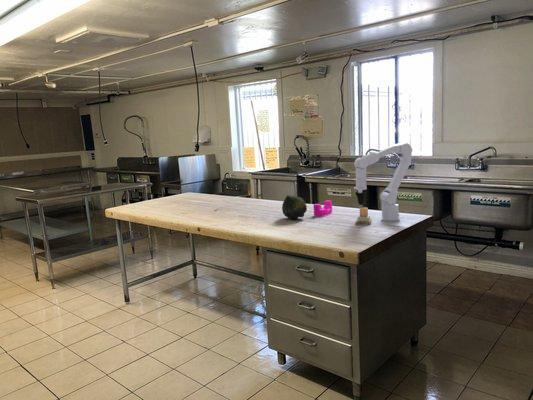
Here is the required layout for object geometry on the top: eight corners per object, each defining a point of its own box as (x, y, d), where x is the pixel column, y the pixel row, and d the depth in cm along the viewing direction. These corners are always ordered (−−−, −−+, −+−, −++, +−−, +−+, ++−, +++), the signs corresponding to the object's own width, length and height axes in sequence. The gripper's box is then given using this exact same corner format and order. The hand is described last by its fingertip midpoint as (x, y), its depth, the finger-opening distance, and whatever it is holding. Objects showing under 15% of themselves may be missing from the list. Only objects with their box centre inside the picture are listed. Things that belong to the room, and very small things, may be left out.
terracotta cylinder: (369, 215, 234) (369, 207, 233) (365, 217, 231) (365, 209, 230) (361, 214, 237) (361, 207, 236) (358, 216, 233) (358, 208, 233)
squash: (296, 222, 246) (295, 197, 243) (277, 219, 256) (276, 195, 253) (311, 217, 256) (310, 193, 253) (293, 215, 266) (291, 192, 263)
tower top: (369, 219, 236) (369, 215, 235) (368, 221, 230) (368, 217, 230) (359, 218, 238) (358, 215, 237) (357, 221, 232) (357, 217, 232)
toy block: (322, 217, 256) (321, 205, 255) (314, 216, 260) (313, 204, 259) (335, 212, 267) (335, 201, 266) (327, 211, 271) (326, 200, 270)
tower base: (371, 222, 237) (371, 218, 236) (370, 225, 229) (370, 221, 229) (357, 222, 239) (357, 218, 239) (355, 225, 232) (355, 221, 231)
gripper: (354, 178, 242) (355, 201, 244) (352, 181, 228) (353, 205, 230) (367, 177, 240) (367, 201, 242) (365, 181, 226) (366, 205, 228)
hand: (361, 203), depth 236 cm, fingers open, 7 cm apart
